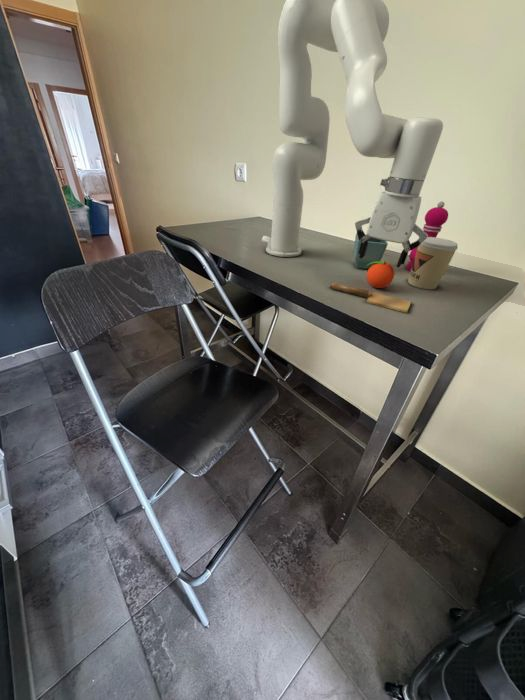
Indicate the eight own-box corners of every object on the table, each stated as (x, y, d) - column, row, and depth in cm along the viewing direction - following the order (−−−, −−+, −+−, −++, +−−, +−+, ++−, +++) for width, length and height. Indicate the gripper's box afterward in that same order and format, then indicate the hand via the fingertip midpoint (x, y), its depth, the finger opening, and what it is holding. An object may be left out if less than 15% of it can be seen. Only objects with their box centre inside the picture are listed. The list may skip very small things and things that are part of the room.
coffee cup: (400, 277, 86) (414, 235, 79) (430, 279, 86) (447, 237, 79) (412, 289, 78) (429, 244, 72) (446, 291, 79) (466, 247, 72)
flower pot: (379, 273, 88) (388, 243, 83) (350, 269, 89) (357, 240, 84) (376, 264, 95) (384, 236, 90) (349, 261, 96) (355, 233, 91)
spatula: (326, 291, 74) (327, 285, 73) (333, 284, 78) (334, 278, 77) (406, 313, 66) (409, 306, 65) (410, 303, 71) (412, 297, 69)
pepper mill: (401, 269, 92) (425, 200, 81) (409, 264, 97) (432, 198, 85) (424, 275, 89) (452, 204, 77) (431, 270, 93) (459, 202, 82)
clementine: (358, 288, 77) (365, 262, 73) (361, 280, 82) (367, 255, 78) (389, 294, 75) (398, 267, 71) (389, 285, 80) (398, 260, 76)
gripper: (361, 183, 65) (343, 257, 75) (444, 194, 59) (412, 274, 69) (369, 181, 71) (351, 250, 81) (446, 191, 64) (416, 265, 74)
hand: (379, 261), depth 75 cm, fingers open, 9 cm apart
